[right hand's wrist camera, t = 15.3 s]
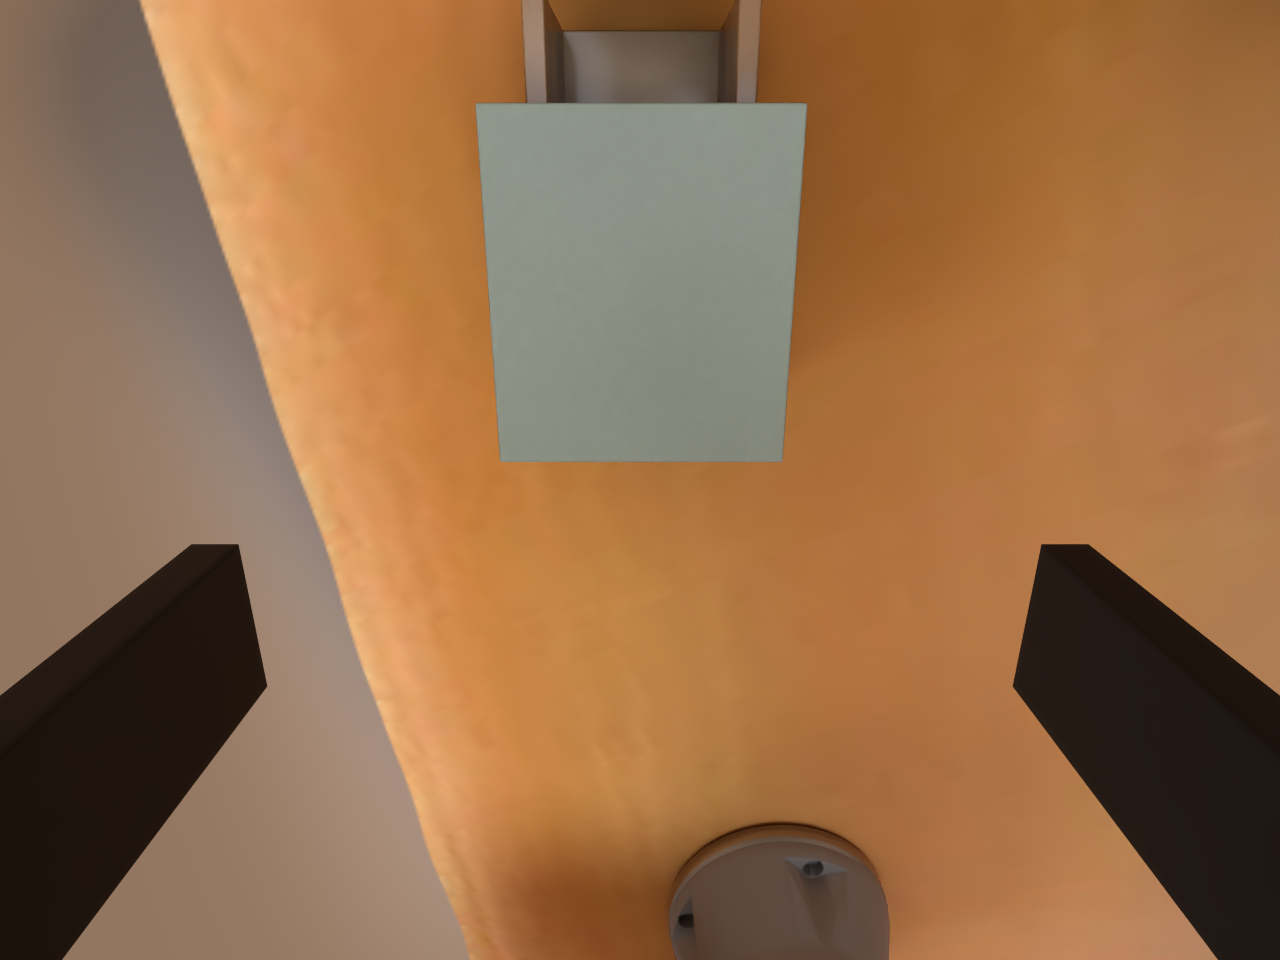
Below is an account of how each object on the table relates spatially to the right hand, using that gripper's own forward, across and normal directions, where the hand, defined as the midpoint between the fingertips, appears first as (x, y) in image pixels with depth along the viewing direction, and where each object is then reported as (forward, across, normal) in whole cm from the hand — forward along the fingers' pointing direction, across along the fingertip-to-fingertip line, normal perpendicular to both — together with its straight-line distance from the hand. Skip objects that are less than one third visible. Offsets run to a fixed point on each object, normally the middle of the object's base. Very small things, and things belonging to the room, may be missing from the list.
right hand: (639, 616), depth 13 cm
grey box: (+29, 0, -3) cm, 30 cm away
